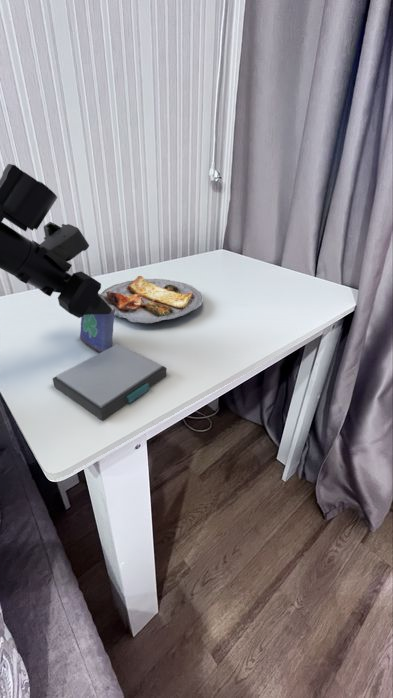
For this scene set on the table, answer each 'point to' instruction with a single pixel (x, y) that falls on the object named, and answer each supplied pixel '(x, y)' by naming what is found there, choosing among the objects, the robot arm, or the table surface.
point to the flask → (97, 330)
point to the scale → (109, 380)
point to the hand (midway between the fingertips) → (97, 302)
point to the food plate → (152, 299)
